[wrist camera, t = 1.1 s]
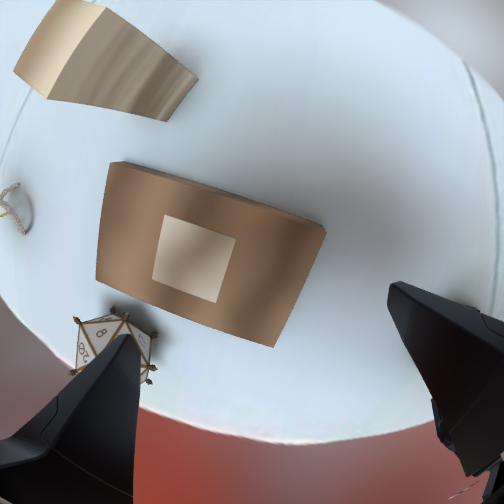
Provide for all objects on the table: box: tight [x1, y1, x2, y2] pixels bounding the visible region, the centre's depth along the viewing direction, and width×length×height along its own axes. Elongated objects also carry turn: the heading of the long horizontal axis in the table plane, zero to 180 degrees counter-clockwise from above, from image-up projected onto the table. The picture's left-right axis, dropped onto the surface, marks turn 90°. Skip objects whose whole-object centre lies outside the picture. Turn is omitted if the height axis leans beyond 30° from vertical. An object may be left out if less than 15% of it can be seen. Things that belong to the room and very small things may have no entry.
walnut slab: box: [96, 161, 326, 348], centre depth 20 cm, size 16×10×2 cm, turn 72°
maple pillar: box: [13, 0, 199, 122], centre depth 11 cm, size 4×4×12 cm
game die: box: [68, 307, 158, 385], centre depth 21 cm, size 9×8×10 cm
